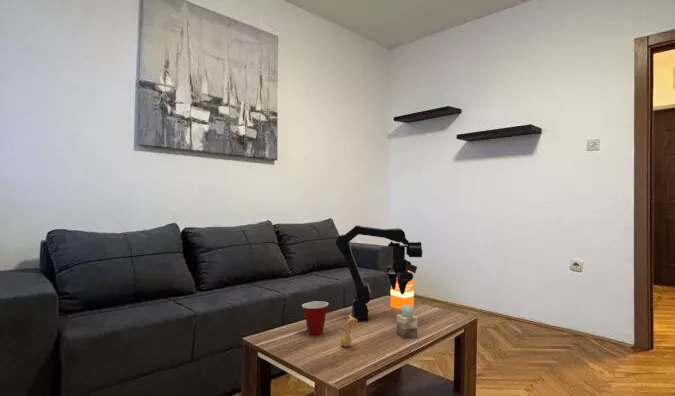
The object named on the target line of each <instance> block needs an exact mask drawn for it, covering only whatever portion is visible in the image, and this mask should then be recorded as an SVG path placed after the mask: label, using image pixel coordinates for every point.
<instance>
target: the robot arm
mask: <svg viewBox="0 0 675 396" xmlns="http://www.w3.org/2000/svg"><path fill="white" fill-rule="evenodd" d="M405 233H406V232H405V231H404V230H403V229H402V228H398V227H397V228H388V229H387V228H376V227H370V226H363V225H359V224H358V225H355V226H354V227H353V228H352V229H350V230H349V231H347V232H346V233H345V234H341V235H339V236H338V237H337V238H336V240H335V244H336V245H335V246H336V247H337V248H338V250H339V252H340V253H341V255H342V256H343V257H344V260H345V262H346V265H347V268H348V271H349V273H350V275H351V278H352V280H353V283H354V285H355V293H356V296H355V297H353V300H352V305H351V316H352V317H353V318H355V319H357V320H358V321H357V322H368V321H369V308H368V305H367V304H369V302H370V300H371V296H372V290H371V288H370V285H369V283H368V282H367V283H365V281H364V280H363V278H362V275H361V273H360V270H359V268H358V265H357V262H356V259H355V258H354V254H353V251H352V246H351V241H352V240H353V239H355V238H356V237H357V236H359V235H361V236H368V237H374V238H375V237H376V238H383V239H387V240H389V241H390V242H389V243H388V244H387V247H389V248H391V258H390V259H389V260H390V262H391V265H386V266H385V267H384V273H385V275H386V277H387V280H388V281H389V283H390V287H391V286H392V289H393V290H395V288H396V281H397V282H398V286H399V289H400V293H401V294H404V291H405V288H406V285H407V283H408V282H409V281H411V280H412V279H413V278H414V274H416V272H417V269H418V265H415V264H412V263H411V261H409V260H407V259H406V255H407V256H408V258H422V257H423V249H422V242H421V241H415V242H413V241H409V240H408V239H407V238H406V234H405ZM404 271H405V272H404ZM408 271H410V272H408Z"/></svg>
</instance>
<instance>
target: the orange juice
mask: <svg viewBox="0 0 675 396" xmlns="http://www.w3.org/2000/svg"><path fill="white" fill-rule="evenodd" d="M404 272H405V271H404ZM408 272H411V271H408ZM414 286H415V278H414V277H413V279H412V280H411V281H409V282H408V283H407V285H406V288H405V291H404V294H401V293H400V289H399V286H398V282H397V281H396V288H395V290H393V289H392V286H391V285H390V307H391V308H394V309H398V310H401V305H404V304H408V305H412V306H413V309H414V303H415V302H414V301H415V299H414V298H415V297H414V296H415V287H414Z"/></svg>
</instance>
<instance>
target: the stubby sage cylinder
mask: <svg viewBox="0 0 675 396" xmlns="http://www.w3.org/2000/svg"><path fill="white" fill-rule="evenodd" d="M400 314H401V316H402V317H405V318H411V317H413V315H414V308H413V306H412V305H408V304H404V305H401V309H400Z"/></svg>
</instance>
